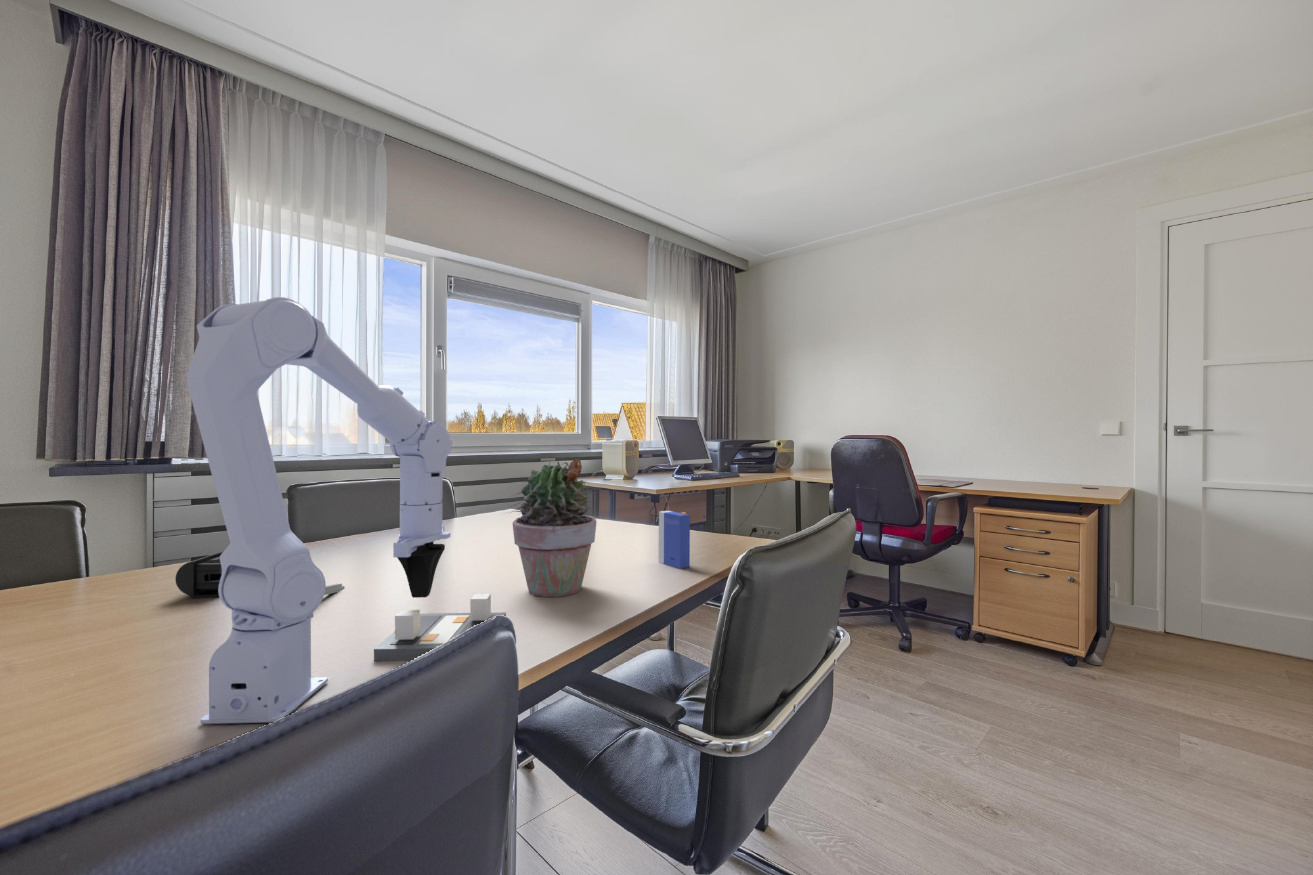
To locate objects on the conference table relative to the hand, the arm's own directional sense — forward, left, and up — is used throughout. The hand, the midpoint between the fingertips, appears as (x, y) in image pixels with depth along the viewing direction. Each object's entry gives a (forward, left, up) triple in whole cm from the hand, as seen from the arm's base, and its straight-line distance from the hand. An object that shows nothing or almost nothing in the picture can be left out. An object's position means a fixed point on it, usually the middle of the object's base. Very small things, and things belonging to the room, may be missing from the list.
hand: (420, 596), depth 81 cm
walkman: (+42, -41, -6) cm, 58 cm away
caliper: (+16, +23, -6) cm, 29 cm away
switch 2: (+2, -8, -4) cm, 9 cm away
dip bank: (-1, -4, -6) cm, 7 cm away
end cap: (+25, +46, -6) cm, 53 cm away
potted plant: (+24, -16, -6) cm, 29 cm away
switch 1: (-5, 0, -4) cm, 6 cm away
